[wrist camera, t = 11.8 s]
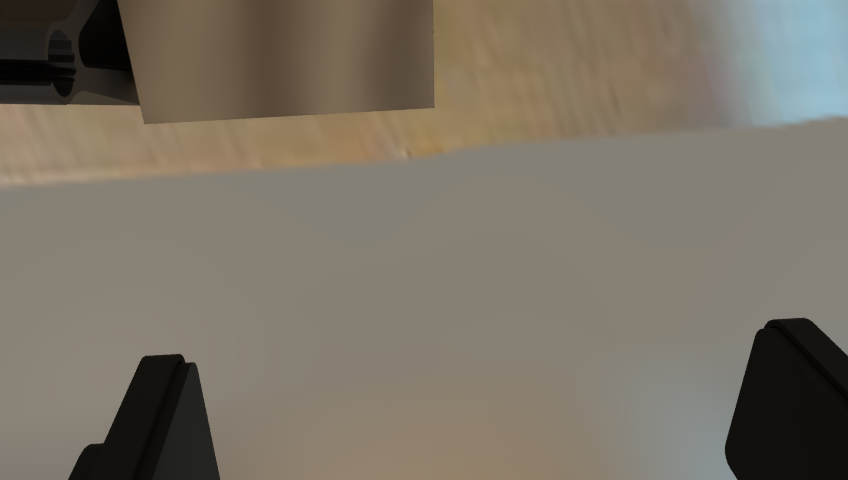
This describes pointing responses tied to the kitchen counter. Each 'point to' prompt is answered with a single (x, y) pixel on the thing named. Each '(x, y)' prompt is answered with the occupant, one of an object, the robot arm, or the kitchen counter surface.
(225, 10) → the trolley
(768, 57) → the kitchen counter surface
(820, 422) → the robot arm
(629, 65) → the kitchen counter surface
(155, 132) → the kitchen counter surface
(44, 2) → the phone stand
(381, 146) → the kitchen counter surface
